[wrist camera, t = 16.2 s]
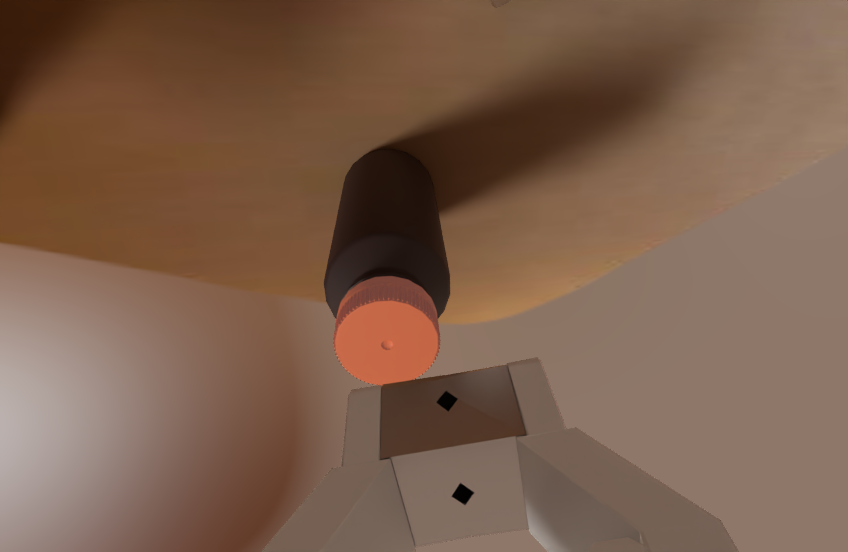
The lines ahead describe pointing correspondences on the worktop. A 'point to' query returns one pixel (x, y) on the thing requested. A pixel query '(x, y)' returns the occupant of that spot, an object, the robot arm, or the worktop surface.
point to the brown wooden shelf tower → (499, 2)
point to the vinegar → (387, 270)
